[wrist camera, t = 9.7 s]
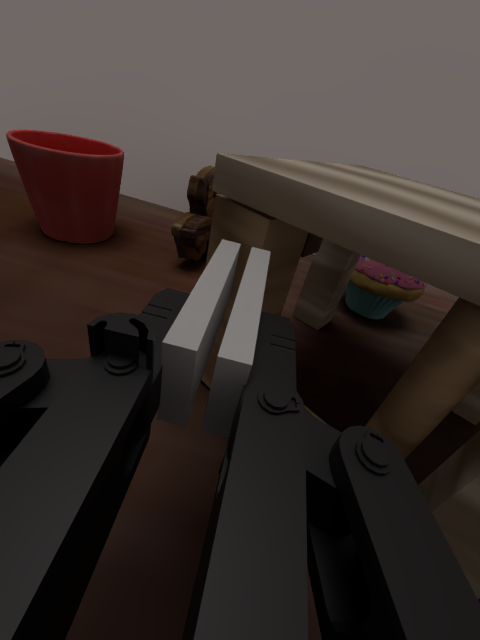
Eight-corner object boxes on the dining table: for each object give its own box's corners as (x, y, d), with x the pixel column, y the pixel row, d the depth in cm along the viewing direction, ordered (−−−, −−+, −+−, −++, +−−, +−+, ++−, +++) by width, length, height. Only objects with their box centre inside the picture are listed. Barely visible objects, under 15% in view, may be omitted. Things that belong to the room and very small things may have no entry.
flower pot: (140, 228, 41) (140, 149, 35) (97, 258, 32) (88, 158, 26) (66, 210, 41) (55, 128, 35) (2, 235, 32) (-26, 130, 26)
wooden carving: (203, 279, 33) (217, 183, 27) (165, 267, 33) (171, 171, 27) (244, 238, 46) (259, 168, 40) (216, 230, 47) (227, 159, 41)
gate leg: (375, 481, 17) (536, 309, 10) (347, 527, 14) (530, 344, 8) (227, 351, 23) (263, 193, 16) (191, 369, 21) (215, 194, 14)
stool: (444, 612, 13) (951, 407, 5) (186, 379, 20) (216, 153, 12) (478, 404, 24) (642, 245, 16) (306, 306, 32) (361, 165, 24)
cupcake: (331, 282, 39) (372, 185, 32) (396, 302, 38) (453, 206, 31) (329, 315, 32) (382, 200, 25) (409, 340, 31) (487, 228, 24)
